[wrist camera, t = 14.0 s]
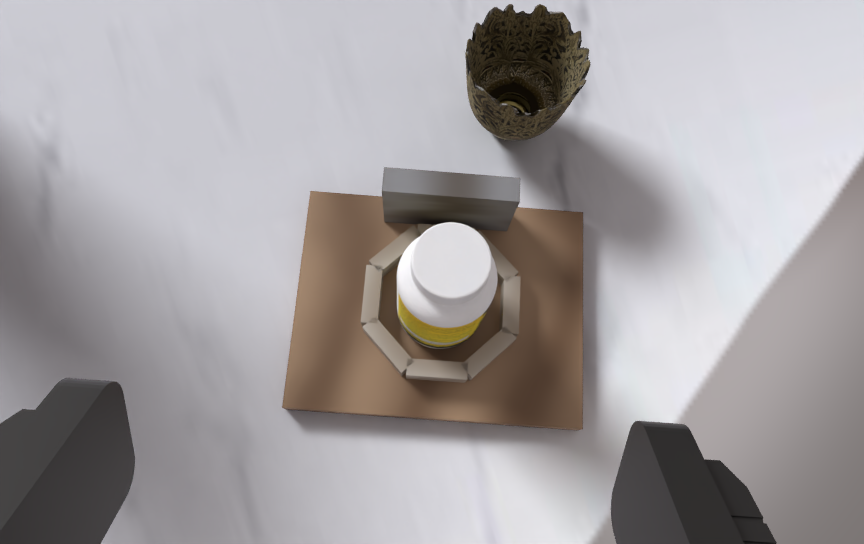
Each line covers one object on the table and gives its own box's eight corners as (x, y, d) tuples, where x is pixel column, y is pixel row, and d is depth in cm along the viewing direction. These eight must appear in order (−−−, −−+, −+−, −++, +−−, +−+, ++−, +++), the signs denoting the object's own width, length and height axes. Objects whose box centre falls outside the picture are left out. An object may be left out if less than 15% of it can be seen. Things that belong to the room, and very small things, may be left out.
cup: (561, 80, 48) (591, 6, 40) (560, 173, 46) (591, 113, 38) (458, 71, 48) (469, -5, 40) (452, 164, 46) (462, 103, 38)
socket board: (285, 409, 40) (265, 399, 35) (312, 198, 45) (299, 156, 39) (577, 430, 41) (607, 423, 35) (578, 219, 45) (604, 181, 39)
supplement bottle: (486, 347, 41) (511, 311, 32) (399, 353, 41) (398, 318, 31) (479, 264, 42) (500, 205, 33) (394, 268, 42) (391, 211, 33)
